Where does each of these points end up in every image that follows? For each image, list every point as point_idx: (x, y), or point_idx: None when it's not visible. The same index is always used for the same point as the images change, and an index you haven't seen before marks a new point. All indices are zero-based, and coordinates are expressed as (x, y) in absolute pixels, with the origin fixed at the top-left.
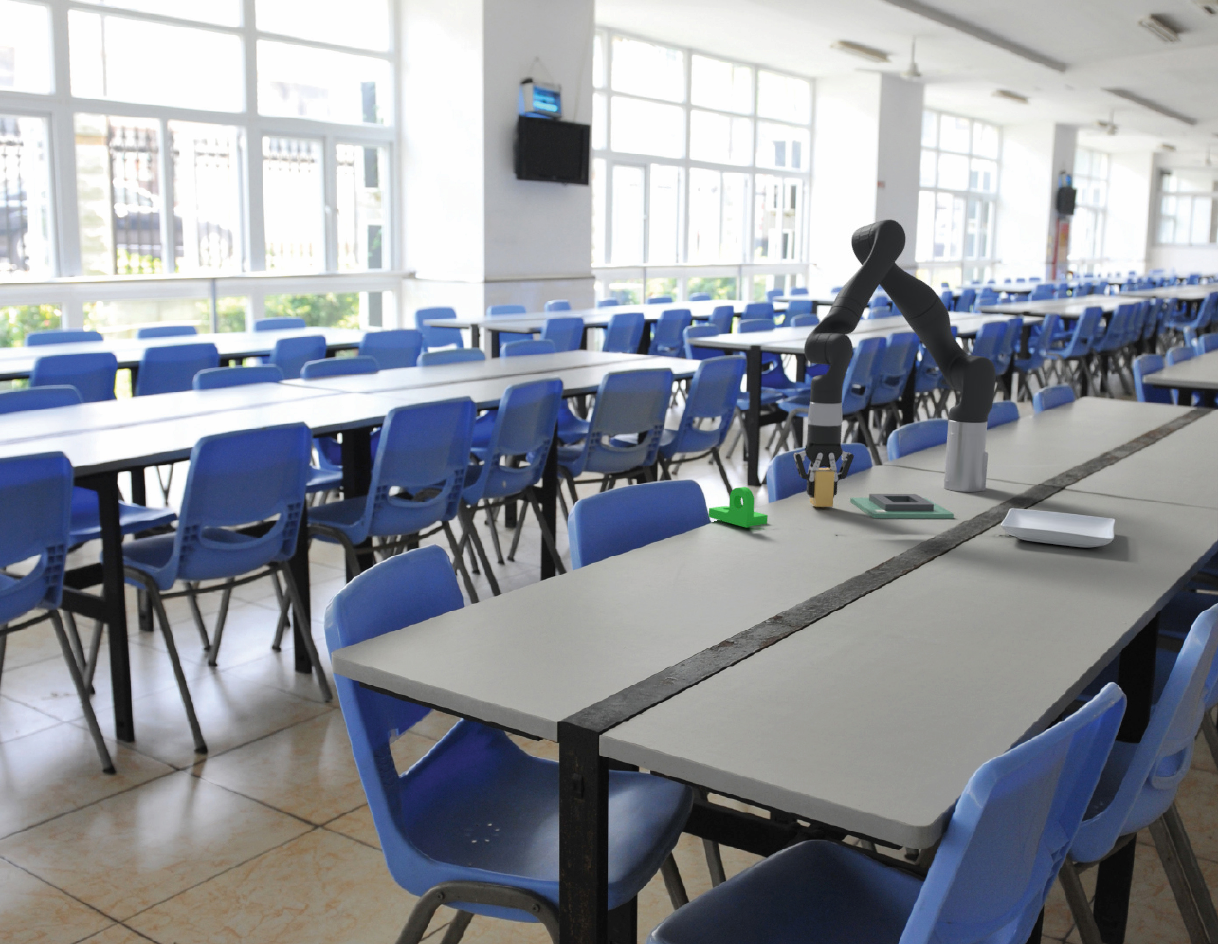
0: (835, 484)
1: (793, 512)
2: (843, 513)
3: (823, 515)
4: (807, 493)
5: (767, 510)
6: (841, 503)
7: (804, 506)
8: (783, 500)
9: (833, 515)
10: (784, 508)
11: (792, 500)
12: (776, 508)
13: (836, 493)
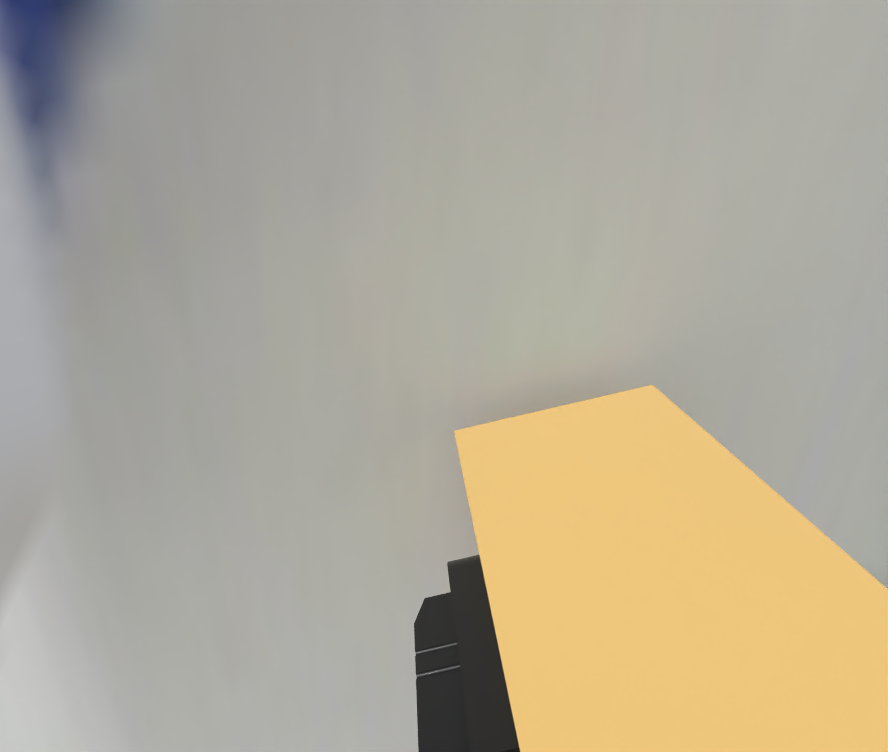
0: None
1: (302, 718)
2: None
3: None
4: (425, 618)
5: (62, 711)
6: (835, 195)
7: (394, 466)
8: (108, 171)
9: None
10: (201, 601)
11: (229, 140)
12: (124, 620)
13: None
